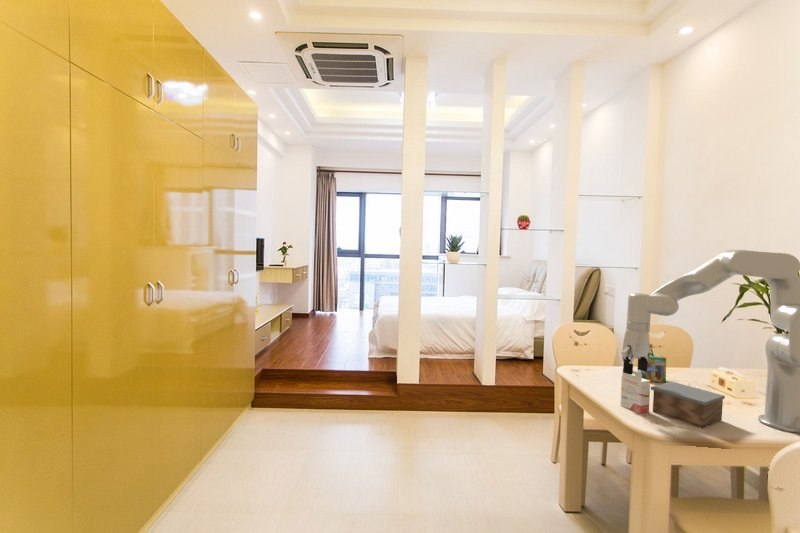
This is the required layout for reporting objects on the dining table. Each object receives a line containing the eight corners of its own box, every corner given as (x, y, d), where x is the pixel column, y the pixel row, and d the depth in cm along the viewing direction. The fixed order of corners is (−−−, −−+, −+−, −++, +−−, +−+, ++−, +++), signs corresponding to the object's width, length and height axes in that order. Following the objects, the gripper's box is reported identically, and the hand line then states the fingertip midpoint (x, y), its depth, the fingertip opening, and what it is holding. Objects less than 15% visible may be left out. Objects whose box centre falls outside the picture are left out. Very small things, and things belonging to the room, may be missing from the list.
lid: (724, 398, 142) (724, 395, 142) (704, 405, 134) (704, 402, 134) (671, 384, 157) (672, 381, 157) (650, 389, 149) (651, 386, 149)
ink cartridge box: (649, 412, 149) (651, 372, 149) (640, 413, 147) (642, 373, 147) (628, 403, 157) (630, 366, 157) (619, 405, 155) (621, 367, 155)
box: (721, 420, 143) (722, 398, 143) (702, 428, 136) (703, 405, 135) (672, 405, 157) (673, 384, 156) (652, 411, 149) (653, 390, 149)
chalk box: (666, 383, 184) (667, 351, 183) (643, 381, 186) (645, 349, 185) (657, 377, 193) (659, 346, 192) (636, 375, 195) (637, 345, 194)
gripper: (640, 323, 159) (637, 366, 159) (614, 326, 150) (611, 371, 151) (661, 327, 152) (658, 372, 153) (635, 330, 143) (632, 377, 144)
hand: (635, 371), depth 152 cm, fingers open, 9 cm apart
